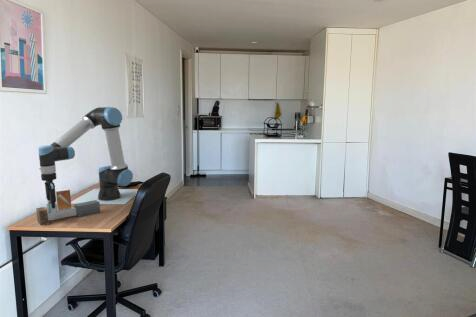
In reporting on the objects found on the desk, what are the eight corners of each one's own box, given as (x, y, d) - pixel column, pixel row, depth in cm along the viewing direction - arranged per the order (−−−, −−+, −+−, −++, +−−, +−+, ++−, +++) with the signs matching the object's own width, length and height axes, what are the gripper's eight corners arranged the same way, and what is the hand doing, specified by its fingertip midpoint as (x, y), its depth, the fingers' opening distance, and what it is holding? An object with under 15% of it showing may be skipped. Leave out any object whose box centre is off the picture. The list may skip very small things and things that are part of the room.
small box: (57, 211, 219) (55, 191, 217) (56, 209, 224) (54, 189, 222) (71, 209, 223) (70, 189, 221) (70, 207, 229) (68, 187, 227)
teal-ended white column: (77, 212, 212) (76, 198, 211) (79, 214, 209) (78, 200, 207) (42, 219, 200) (41, 204, 199) (44, 221, 197) (42, 206, 195)
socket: (45, 220, 203) (44, 206, 202) (48, 223, 197) (47, 209, 195) (37, 221, 200) (36, 208, 199) (40, 225, 194) (39, 211, 193)
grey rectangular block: (96, 210, 221) (95, 200, 220) (100, 212, 216) (99, 202, 215) (74, 214, 212) (74, 204, 211) (78, 217, 207) (77, 206, 206)
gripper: (37, 171, 202) (41, 210, 206) (44, 176, 188) (48, 217, 192) (52, 169, 207) (55, 207, 210) (59, 174, 193) (63, 214, 197)
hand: (52, 212), depth 201 cm, fingers closed on teal-ended white column, 5 cm apart
